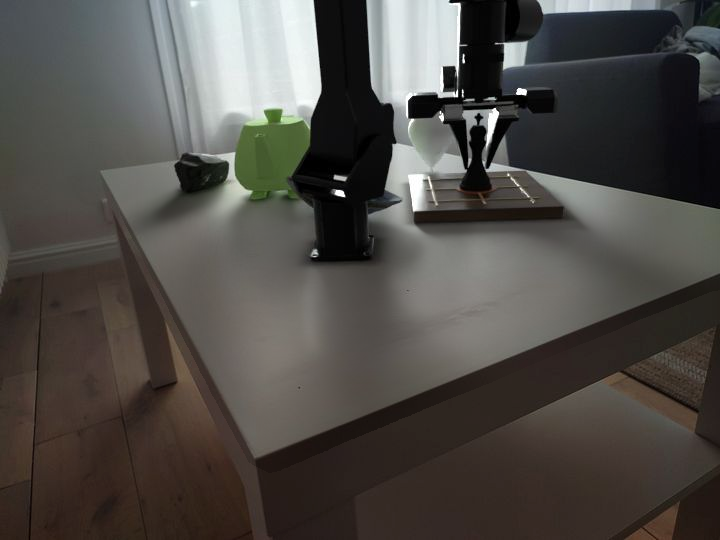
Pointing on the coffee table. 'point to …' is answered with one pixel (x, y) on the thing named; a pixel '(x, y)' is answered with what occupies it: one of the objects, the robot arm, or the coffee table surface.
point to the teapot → (270, 152)
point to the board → (481, 198)
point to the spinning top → (430, 138)
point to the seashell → (373, 204)
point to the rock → (200, 171)
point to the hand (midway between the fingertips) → (476, 168)
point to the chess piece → (476, 160)
